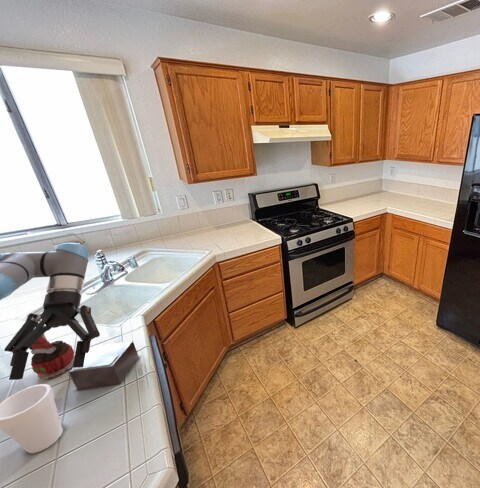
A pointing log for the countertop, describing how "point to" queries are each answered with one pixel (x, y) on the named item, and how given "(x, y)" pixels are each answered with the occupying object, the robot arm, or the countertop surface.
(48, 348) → the cake
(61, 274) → the robot arm
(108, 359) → the box
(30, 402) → the foam cup
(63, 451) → the countertop surface
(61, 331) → the countertop surface
